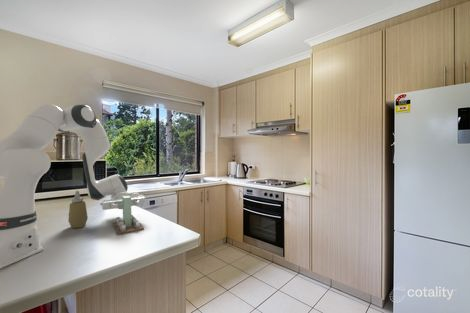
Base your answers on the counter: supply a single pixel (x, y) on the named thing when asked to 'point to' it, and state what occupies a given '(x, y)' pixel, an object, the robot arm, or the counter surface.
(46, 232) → the counter surface
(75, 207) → the squeeze bottle
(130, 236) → the counter surface
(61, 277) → the counter surface
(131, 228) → the walnut channel board
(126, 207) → the sage slat
